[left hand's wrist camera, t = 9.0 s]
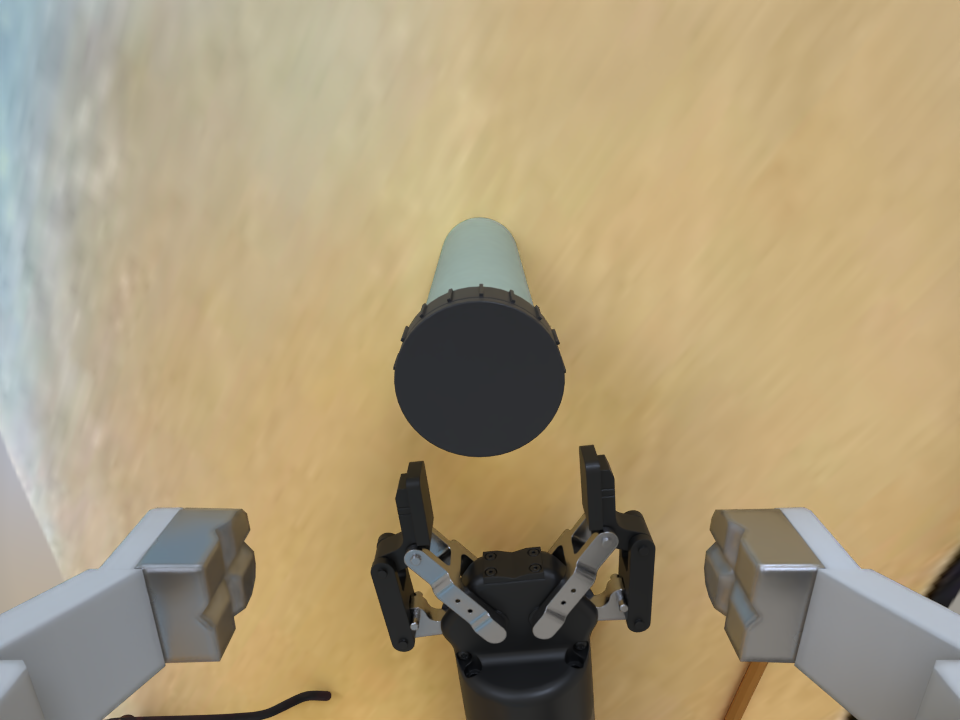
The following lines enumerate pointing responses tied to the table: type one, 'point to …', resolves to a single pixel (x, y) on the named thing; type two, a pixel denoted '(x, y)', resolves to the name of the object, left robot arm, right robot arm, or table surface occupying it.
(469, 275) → the jar
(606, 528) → the right robot arm
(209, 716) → the eyeglasses
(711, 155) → the table surface
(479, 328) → the lid
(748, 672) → the pencil
